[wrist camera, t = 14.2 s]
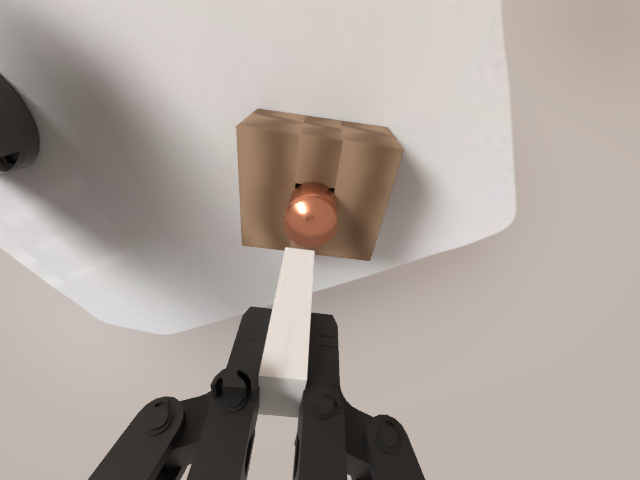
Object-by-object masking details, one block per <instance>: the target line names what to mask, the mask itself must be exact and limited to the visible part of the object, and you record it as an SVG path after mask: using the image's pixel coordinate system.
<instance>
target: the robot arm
mask: <svg viewBox="0 0 640 480" xmlns="http://www.w3.org/2000/svg"><path fill="white" fill-rule="evenodd" d="M38 149H39V137H38V132H37V129H36V126H35V123H34V121H33V118H32V116H31V114H30V113H29V111H28V109H27V107H26V106H25V104H24V103H23V101H22V100H21V98H20V97H19V96H18V94H17V93H16V92H15V91H14V90H13V88H12V87H11V86H10V85H9V84H8V83H7V82H6V81H5V80H4V79H3V78H2V77H1V76H0V174H4V173H8V172H12V171H14V170H17V169H20V168H22V167H25V166H27V165H29V164H30V163H31V162H32V161H33V160H34V159H35V157H36V156H37V153H38ZM314 253H315V251H312V250H304V249H296V248H288V247H285V251H284V255H283V260H282V265H281V270H280V275H279V280H278V284H277V289H276V294H275V299H274V304H273V309H267V308H259V307H250V308H249V309H248V310H247V311H246V313H245V314H244V315H243V316H242V319H241V323H240V326H239V330H238V332H237V336H236V339H235V342H234V345H233V348H232V351H231V355H230V358H229V361H228V364H227V367H226V369H224V370H222V371H221V372H220V373H219V374H218V375H216V376H215V378H214V379H213V381H212V383H211V390H212V391H210V392H208V393H207V394H204V395H202V396H199V397H195V398H191V399H187V400H183V401H178V400H177V399H176V398H174V397H161V398H157V399H155V400H153V401H151V402H150V403H148V404H147V405H146V406H145V407H144V408H143V409H142V410H141V411H140V412H139V413H138V414H137V415H136V417H135V418H134V419H133V421H132V422H131V423H130V425H129V426H128V427H127V429H126V430H125V431H124V433H123V434H122V435H121V436H120V438H119V439H118V440H117V442H116V443H115V444H114V446H113V447H112V448H111V450H110V451H109V452H108V454H107V455H106V456H105V458H104V459H103V460H102V462H101V463H100V464H99V466H98V467H97V468H96V470H95V471H94V472H93V474H92V475H91V476H90V478H89V479H88V480H180V479H181V477H182V475H183V474H184V472H185V470H186V468H187V466H188V465H189V464H192V465H191V468H190V471H189V474H188V477H187V480H247V475H248V470H249V464H250V458H251V453H252V448H253V442H254V437H255V426H256V421H257V415H258V414H263V415H276V416H287V417H299V418H298V431H297V435H296V440H295V457H294V470H293V480H347V474H348V475H350V476H351V478H352V480H425V478H424V476H423V473H422V471H421V468H420V466H419V463H418V461H417V458H416V456H415V453H414V451H413V448H412V446H411V443H410V441H409V438H408V436H407V433H406V432H405V430H404V428H403V427H402V425H401V424H400V423H399V422H398V421H397V420H396V419H394V418H393V417H390V416H388V415H378V416H375V417H372V416H370V415H368V414H365V413H363V412H361V411H359V410H357V409H356V408H354V407H352V406H351V405H350V404H349V403H348V402H347V401H346V399H345V398H344V397H343V394H342V392H341V389H340V378H339V351H338V327H337V324H336V321H335V319H334V317H333V315H328V314H319V313H311V303H312V286H313V269H314Z"/></svg>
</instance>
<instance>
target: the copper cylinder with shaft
mask: <svg viewBox="0 0 640 480" xmlns="http://www.w3.org/2000/svg"><path fill="white" fill-rule="evenodd" d="M283 226H284V230H285V233H286V234H287V236H288V237H289V238H290V239H291V240H292V241H293V242H295V243H296V244H298V245H301V246H304V247H319V246H322V245H325V244H326V243H328V242H329V241H330V240H332V238H333V237H334V236H335V234H336V231H337V201H336V197H335V195H334V193H333V192H332V190H331V189H330V188H329V187H327V186H326V185H324V184H322V183H319V182H306V183H303V184H301V185H299V186H297V187H296V188H295V189H294V190H293V192H292V193H291V195H290V199H289V202H288V206H287V210H286V213H285V217H284V221H283Z"/></svg>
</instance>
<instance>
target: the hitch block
mask: <svg viewBox="0 0 640 480" xmlns="http://www.w3.org/2000/svg"><path fill="white" fill-rule="evenodd" d="M236 130H237V150H238V171H239V191H240V211H241V232H242V245H243V246H251V247H259V248H267V249H276V250H284V251H285V247H288V248H296V249H304V250H312V251H315V253H314V254H317V255H325V256H333V257H342V258H350V259H358V260H366V261H370V259H371V256H372V252H373V249H374V246H375V243H376V239H377V236H378V233H379V229H380V226H381V223H382V219H383V216H384V213H385V210H386V206H387V203H388V200H389V196H390V193H391V190H392V186H393V183H394V180H395V177H396V173H397V170H398V167H399V163H400V160H401V157H402V153H403V150H404V149H403V148H402V147H401V145H400V144H399V142H398V141H397V140H396V138H395V137H394V135H393V134H392V133H391V131H390V130H389V128H388V127H381V126H374V125H367V124H360V123H353V122H346V121H339V120H332V119H325V118H318V117H312V116H305V115H298V114H291V113H284V112H277V111H270V110H263V109H257V110H256V111H254V112H253V113H252V114H251V115H249V116H248V117H247V118H246V119H244V120H243V121H242V122H241V123H239V124H238V125H237V126H236ZM306 182H319V183H322V184H324V185H326V186H327V187H329V188H330V189H331V190H332V192H333V193H334V195H335V197H336V201H337V231H336V234H335V236H334V237H333V238H332V240H330V241H329V242H328V243H326V244H325V245H322V246H319V247H304V246H301V245H298V244H296V243H295V242H293V241H292V240H291V239H290V238H289V237H288V236H287V234H286V233H285V230H284V226H283V221H284V217H285V213H286V210H287V206H288V202H289V199H290V195H291V193H292V192H293V190H294V189H295V188H296V187H297V186H299V185H300V184H303V183H306Z"/></svg>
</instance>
